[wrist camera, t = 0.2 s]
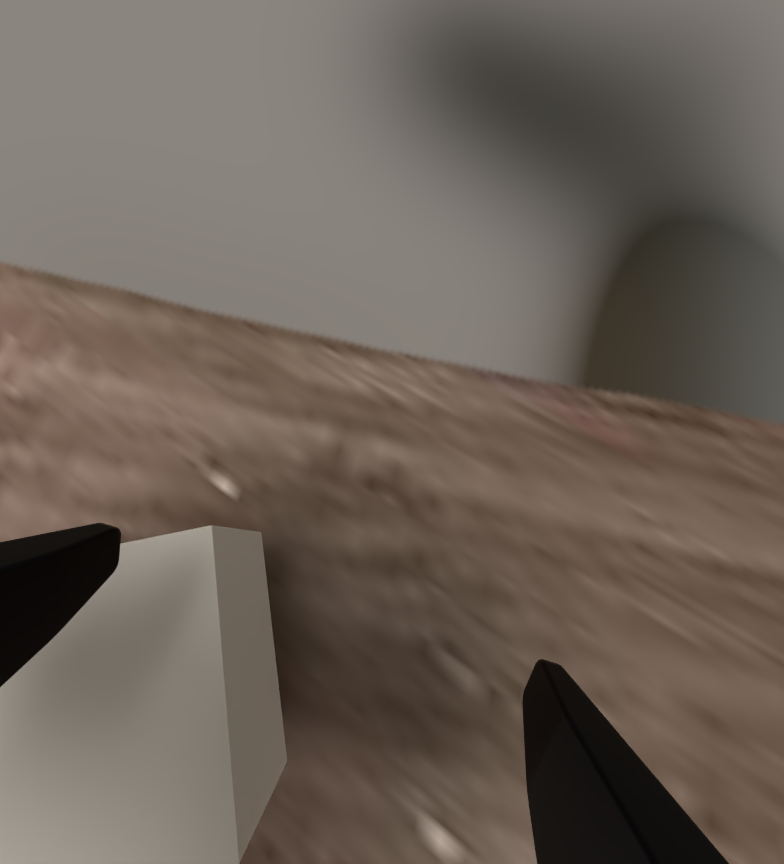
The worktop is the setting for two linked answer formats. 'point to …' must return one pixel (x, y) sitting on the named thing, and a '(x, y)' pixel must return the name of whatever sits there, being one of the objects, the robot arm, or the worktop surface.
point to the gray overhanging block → (149, 713)
